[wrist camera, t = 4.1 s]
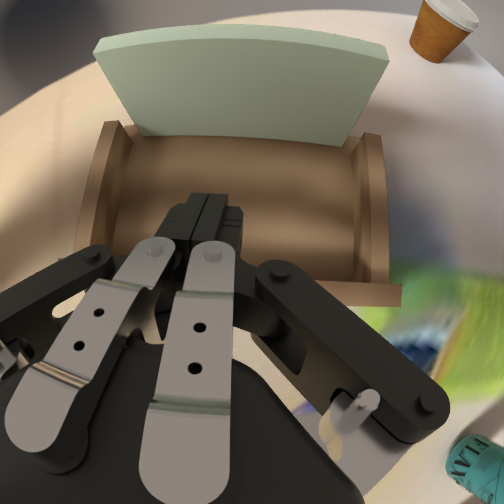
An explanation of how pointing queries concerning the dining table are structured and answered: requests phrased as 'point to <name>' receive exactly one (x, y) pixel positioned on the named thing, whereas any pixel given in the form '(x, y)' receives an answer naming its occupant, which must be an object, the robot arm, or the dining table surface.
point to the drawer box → (253, 201)
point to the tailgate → (242, 81)
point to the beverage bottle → (478, 468)
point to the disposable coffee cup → (441, 28)
